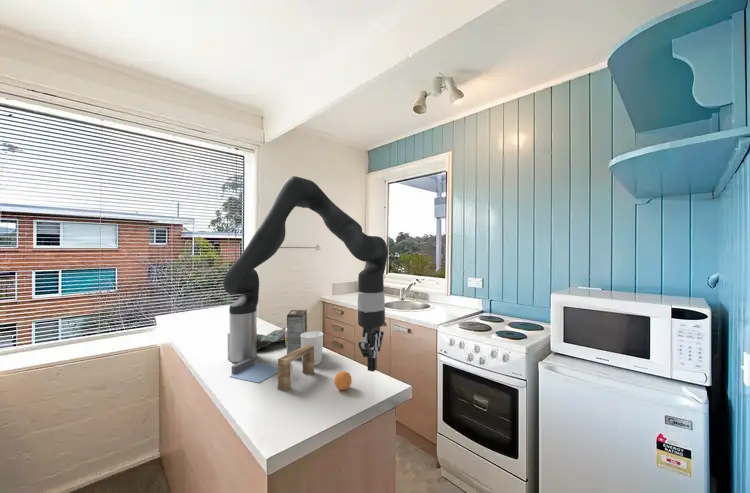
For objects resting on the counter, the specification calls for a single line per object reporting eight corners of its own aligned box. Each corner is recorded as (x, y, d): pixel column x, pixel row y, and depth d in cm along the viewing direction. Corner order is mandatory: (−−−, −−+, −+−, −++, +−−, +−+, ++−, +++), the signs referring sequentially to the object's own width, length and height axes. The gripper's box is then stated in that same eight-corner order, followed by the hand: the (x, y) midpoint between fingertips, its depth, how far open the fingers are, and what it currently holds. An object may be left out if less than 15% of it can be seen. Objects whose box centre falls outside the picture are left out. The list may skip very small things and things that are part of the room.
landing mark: (229, 376, 96) (229, 376, 96) (257, 363, 107) (257, 362, 107) (258, 383, 91) (258, 382, 91) (284, 368, 102) (284, 367, 102)
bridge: (278, 389, 87) (277, 359, 87) (306, 370, 100) (306, 344, 100) (286, 391, 86) (286, 360, 86) (314, 372, 99) (313, 345, 99)
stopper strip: (231, 373, 98) (231, 366, 98) (250, 364, 106) (250, 357, 106) (235, 374, 98) (235, 366, 98) (253, 365, 105) (253, 358, 105)
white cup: (318, 367, 103) (318, 338, 103) (296, 365, 105) (296, 336, 105) (326, 359, 111) (326, 331, 111) (306, 357, 112) (306, 330, 112)
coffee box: (291, 350, 120) (290, 309, 120) (307, 349, 121) (307, 309, 121) (286, 358, 111) (286, 314, 111) (304, 358, 112) (303, 314, 112)
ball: (331, 391, 86) (330, 373, 86) (339, 383, 91) (339, 367, 91) (346, 394, 84) (346, 376, 84) (354, 386, 89) (354, 369, 89)
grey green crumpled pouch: (254, 354, 116) (311, 339, 133) (253, 335, 116) (310, 322, 133) (242, 349, 125) (296, 335, 142) (241, 331, 126) (295, 320, 143)
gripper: (368, 302, 91) (369, 360, 91) (348, 311, 79) (349, 377, 79) (391, 304, 89) (392, 363, 89) (374, 313, 76) (375, 382, 76)
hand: (372, 370), depth 84 cm, fingers closed
